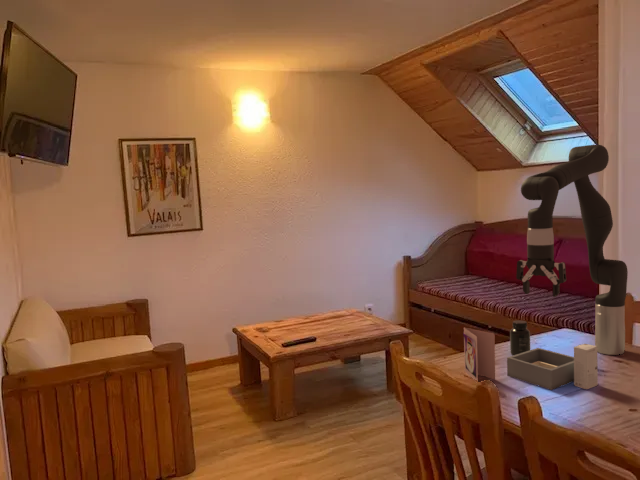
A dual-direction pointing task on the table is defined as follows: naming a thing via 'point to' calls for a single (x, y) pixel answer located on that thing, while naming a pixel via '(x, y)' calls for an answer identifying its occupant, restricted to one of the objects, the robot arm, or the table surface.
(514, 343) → the supplement bottle
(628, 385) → the table surface
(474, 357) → the greeting card
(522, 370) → the crate
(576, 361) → the skincare box
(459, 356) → the table surface
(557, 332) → the table surface
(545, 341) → the table surface
